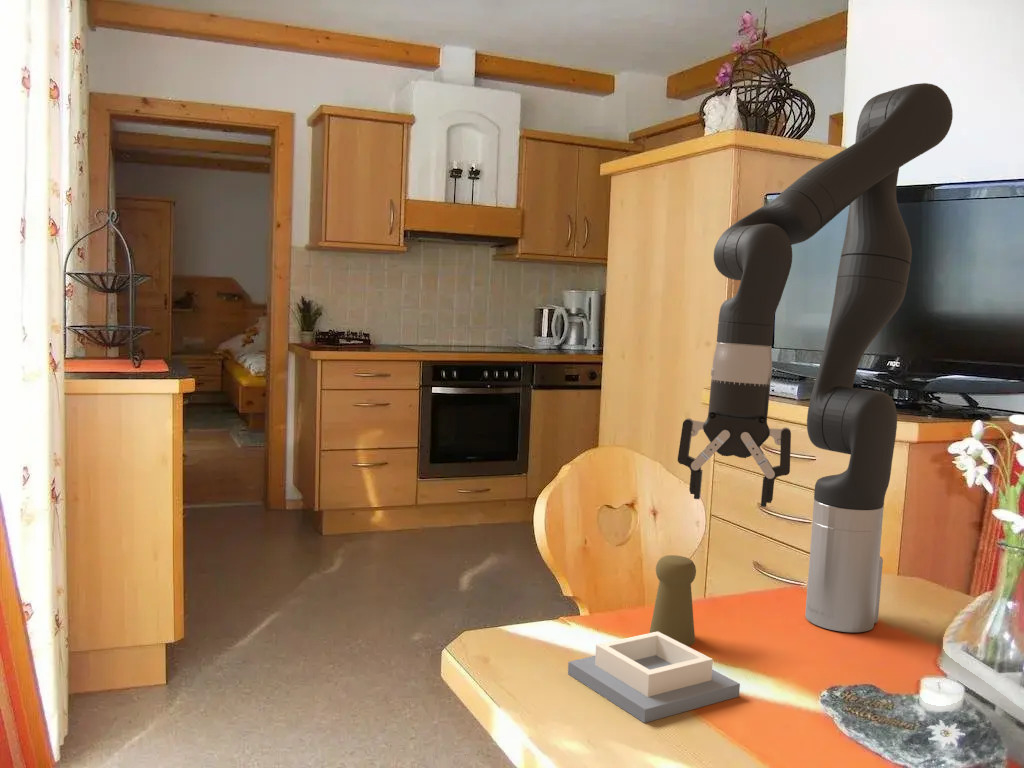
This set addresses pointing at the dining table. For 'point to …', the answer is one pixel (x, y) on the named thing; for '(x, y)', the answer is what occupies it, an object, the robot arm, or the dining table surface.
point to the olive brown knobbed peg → (674, 599)
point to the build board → (653, 676)
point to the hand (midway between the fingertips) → (729, 502)
